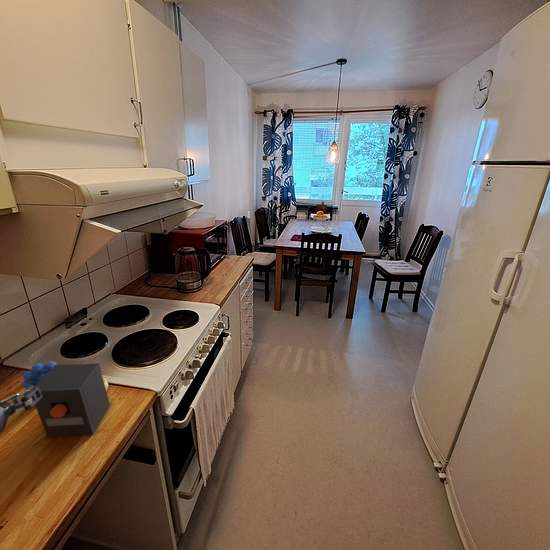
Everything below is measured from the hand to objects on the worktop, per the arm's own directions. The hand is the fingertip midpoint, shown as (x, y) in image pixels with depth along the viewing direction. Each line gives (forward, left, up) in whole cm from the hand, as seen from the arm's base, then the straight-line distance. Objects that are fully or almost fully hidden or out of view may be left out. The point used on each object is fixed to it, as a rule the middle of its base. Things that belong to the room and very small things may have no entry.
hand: (10, 398), depth 63 cm
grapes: (-3, +26, -22) cm, 34 cm away
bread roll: (+9, +22, -22) cm, 32 cm away
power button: (+5, +5, -13) cm, 15 cm away
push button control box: (+7, +11, -22) cm, 25 cm away
